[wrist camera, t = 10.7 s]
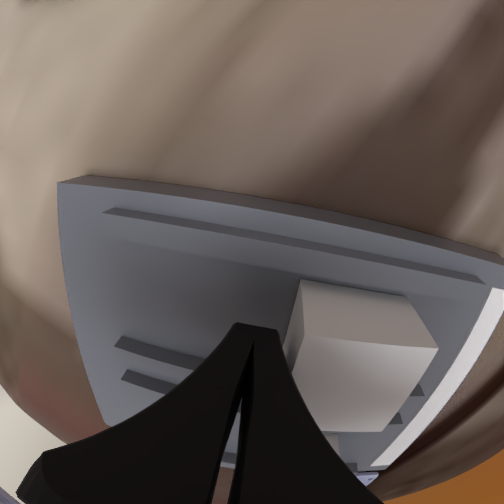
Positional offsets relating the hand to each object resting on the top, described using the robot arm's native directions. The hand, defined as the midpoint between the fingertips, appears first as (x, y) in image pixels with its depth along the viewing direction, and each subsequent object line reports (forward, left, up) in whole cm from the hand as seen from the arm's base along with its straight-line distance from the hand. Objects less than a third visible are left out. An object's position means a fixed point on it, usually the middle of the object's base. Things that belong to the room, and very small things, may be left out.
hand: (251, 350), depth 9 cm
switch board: (-4, -1, -4) cm, 6 cm away
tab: (0, -3, -1) cm, 3 cm away
